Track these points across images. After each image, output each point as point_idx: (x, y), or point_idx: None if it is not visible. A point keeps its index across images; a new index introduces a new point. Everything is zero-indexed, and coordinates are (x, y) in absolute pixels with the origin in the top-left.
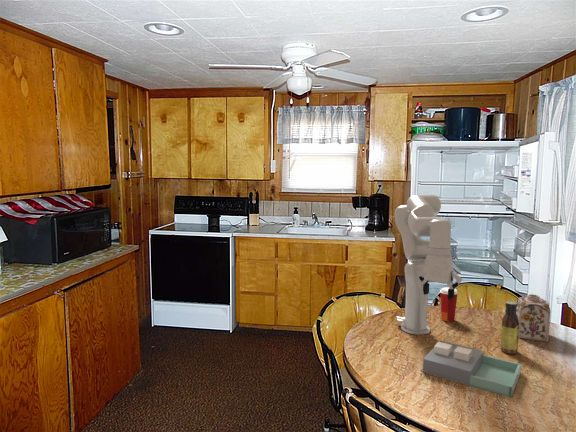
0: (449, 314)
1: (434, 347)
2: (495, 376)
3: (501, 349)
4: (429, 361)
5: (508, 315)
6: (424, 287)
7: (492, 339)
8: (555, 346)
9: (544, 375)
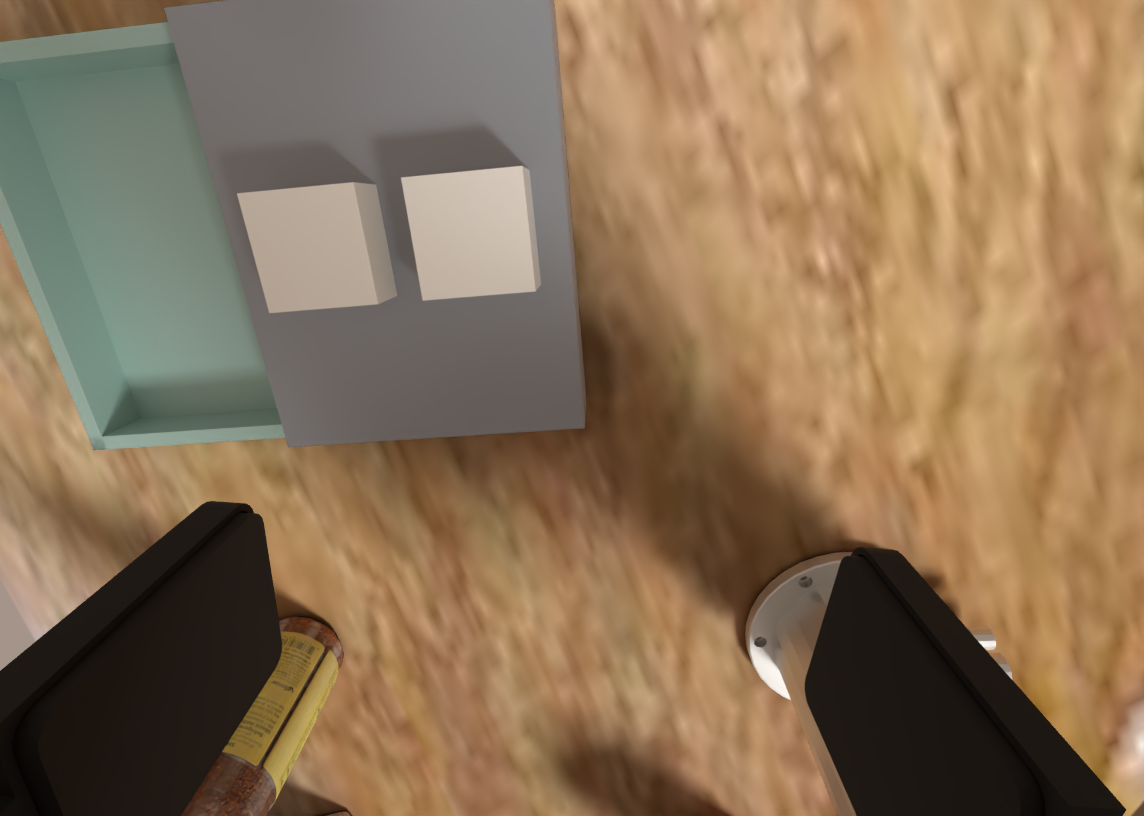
0: None
1: (521, 167)
2: (184, 271)
3: (329, 633)
4: None
5: None
6: (1001, 694)
7: (430, 733)
8: None
9: (58, 480)
